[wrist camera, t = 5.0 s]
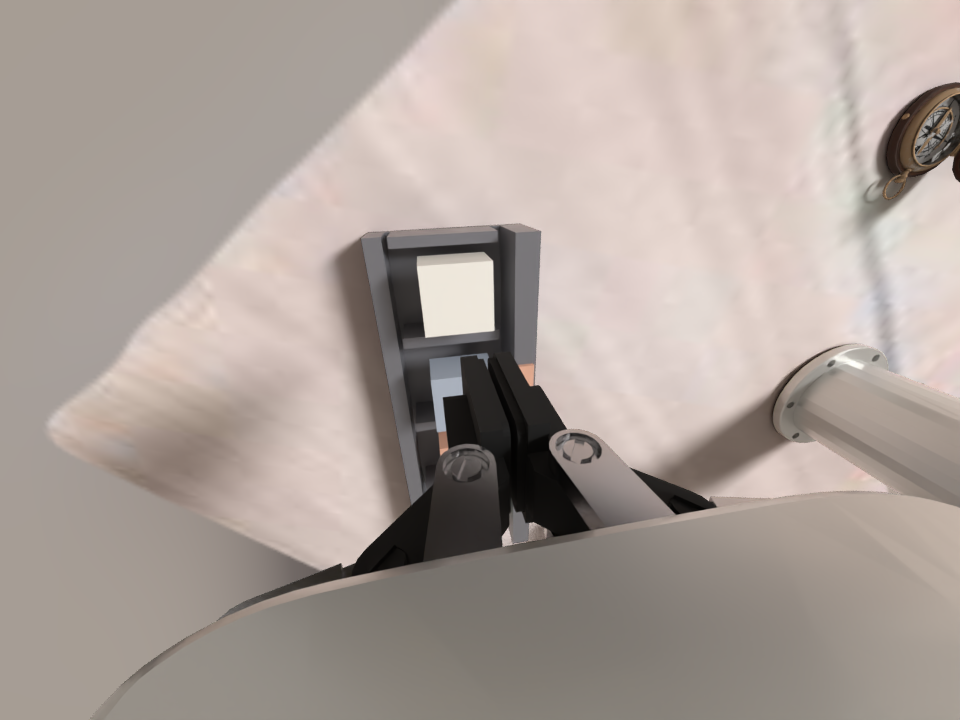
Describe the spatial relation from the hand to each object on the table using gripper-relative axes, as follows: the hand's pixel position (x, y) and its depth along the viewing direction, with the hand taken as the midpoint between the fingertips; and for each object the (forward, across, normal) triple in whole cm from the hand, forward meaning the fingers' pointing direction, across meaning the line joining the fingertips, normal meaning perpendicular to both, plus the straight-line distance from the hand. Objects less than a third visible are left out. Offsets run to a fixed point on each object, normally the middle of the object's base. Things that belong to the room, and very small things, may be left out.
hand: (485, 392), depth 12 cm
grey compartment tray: (+17, 0, +11) cm, 20 cm away
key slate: (+13, 0, +7) cm, 15 cm away
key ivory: (+13, 0, 0) cm, 13 cm away
